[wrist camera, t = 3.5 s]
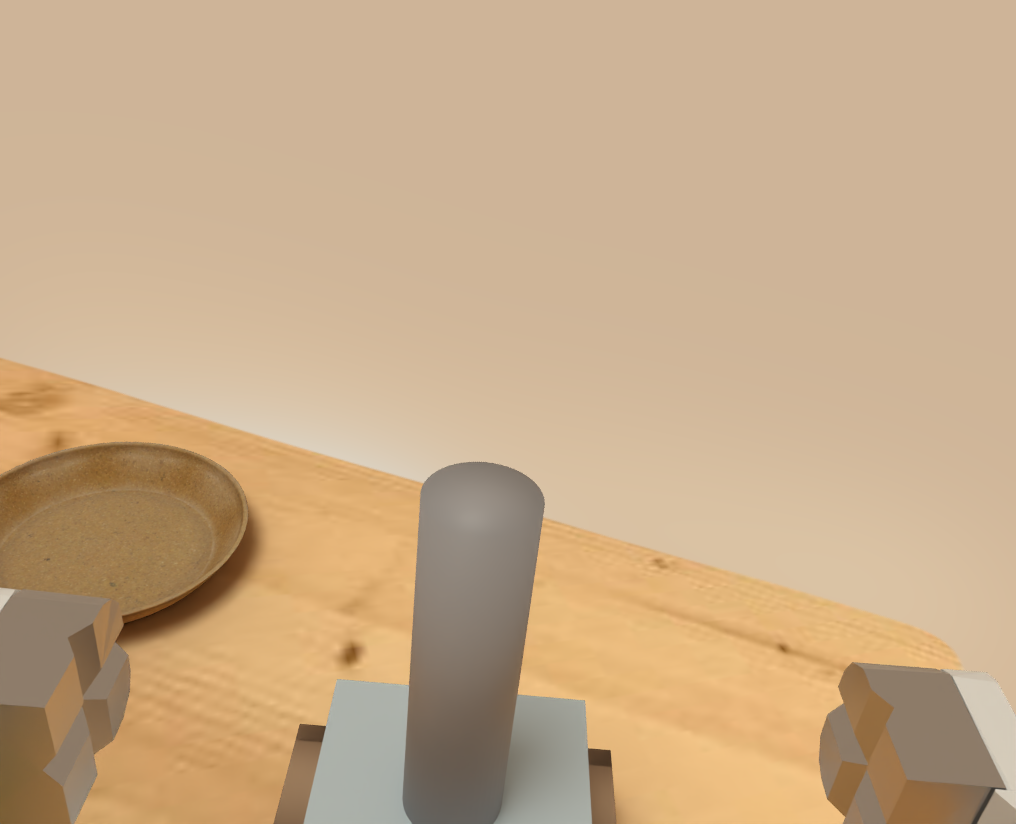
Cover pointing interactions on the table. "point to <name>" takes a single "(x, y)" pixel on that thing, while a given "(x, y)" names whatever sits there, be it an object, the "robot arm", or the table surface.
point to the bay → (308, 752)
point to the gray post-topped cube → (460, 682)
